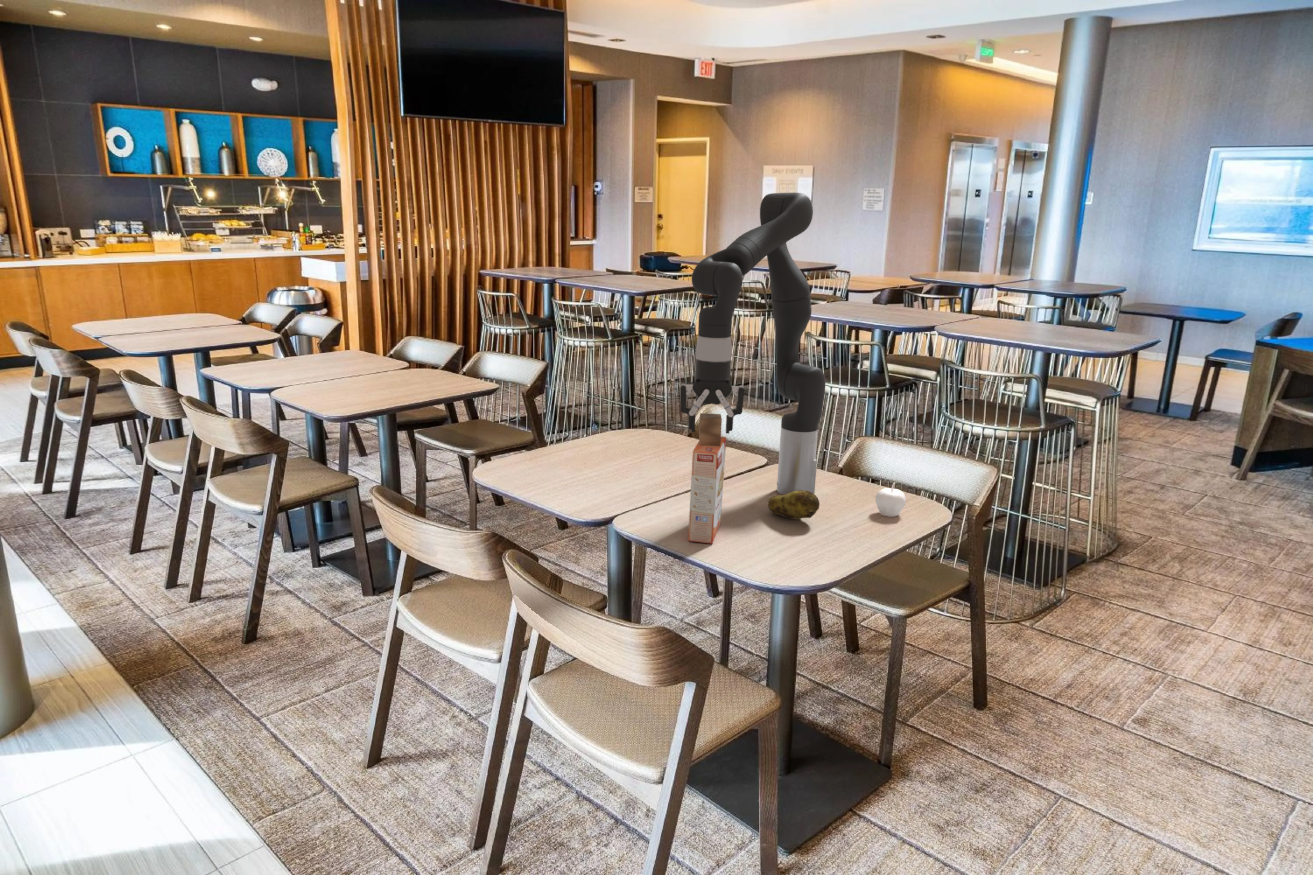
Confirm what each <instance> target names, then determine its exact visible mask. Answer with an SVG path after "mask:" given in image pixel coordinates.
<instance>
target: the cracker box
mask: <svg viewBox="0 0 1313 875" xmlns="http://www.w3.org/2000/svg"><path fill="white" fill-rule="evenodd" d="M726 446H727V437H725V436H721V444H720V446H705V445H699V441H698V442H697V444H696V445H695V447H694V448H693V450H692V457H691V458H692V459H691V461H692V462H691V478H690V480H691V481H690V483H691V484H690V499H689V512H688V513H689V516H688V532H687V539H688V540H687V541H688V542H693V543H701V544H703V543H704V544H709V545H710V544H711V545H713V544H714V541H715V538H716V536H717V532H718V530H719V528H720V526H721V521H722V510H723V509H722V507H723V493H724V491H723V490H724V478H725V461H726V450H727V449H726Z"/></svg>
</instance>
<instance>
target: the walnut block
mask: <svg viewBox="0 0 1313 875" xmlns="http://www.w3.org/2000/svg"><path fill="white" fill-rule="evenodd" d="M722 423H723V418H722V414H721V413H699V429H698V430H699V431H698V442H699V445H705V446H720V444H721V437H722Z"/></svg>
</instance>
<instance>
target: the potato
mask: <svg viewBox="0 0 1313 875" xmlns="http://www.w3.org/2000/svg"><path fill="white" fill-rule="evenodd" d="M767 506H768V509H769V511H770V512H771V513H773V514H775V515H777V516H782V517H785V518H787V519H792V520H801V519H811V518H812V517H813V516H814V515H816V514H817V512H818V511H819V509H820V500H819V498H818V496H817V495H816V494H815V493H814V494H813V493H812V492H810V491H803V490H797V491H793V492H791V493H788V494H785V495H781V494H778V495H774V496H772V497H770V498H769V500H768V503H767Z"/></svg>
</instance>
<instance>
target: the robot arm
mask: <svg viewBox="0 0 1313 875" xmlns="http://www.w3.org/2000/svg"><path fill="white" fill-rule="evenodd" d="M759 206H760V208H759V220H760V225H759V226H757V227H753V228H752V229H750V230H747V231H745V232H744V233H742V234H741V235H740V236H738V237H737V238H736V239H735V240H733V241H732V242H731V243H730V244H729V245H728V246H727V247H725V248H723V249H722V250H719V251H717V252H715V253H712V254H711V255H708V256H706V257H705V258H703V259H702V260H701V261H699V262H698V263H697V264H696V265H695V267H694V268H693V271H692V274H691V285H692V287H693V288H694V290H695V291H696V292H697V293H699V294H701V295H704V296H714V297H717V300H716V302H715V305H714V306H706V307H703V308H701V309H700V311H699V313H698V327H697V328H698V329H697V331H698V332H697V341H696V350H695V372H694V382H693V383H692V384H686V383H681V384H680V386H679V387H680V391H679V392H680V394H679V395H680V412H681V413H682V414H686V415H688V425H687V426H688V430H690V431H691V433H696V412H697V411H698V410H699V408H700V407H701V405H710V404H712V405H716V406H717V405H720V404H721V405H722V407H723V409H724V410H725V413H726V414H725V416H726V417H725V434H730V432H732V431H733V429H734V417H735V416H738V415H741V414H742V413H743V408H744V406H743V405H744V398H745V388H744V385H742V384H740V385H732V384H731V370H732V369H731V368H732V356H733V353H732V351H733V350H732V349H733V348H732V347H733V346H732V328H733V327H732V326H733V316H734V313H735V309H736V305H737V302H738V299H739V296H740V293H741V290H742V287H743V281H744V280H743V278H744V277H743V276H745V275H747V274H748V273H749V272H750V271H751V270H752V269H753V268H755V267H756V266H757V265H758V264H759V263H760V262H761V261H763V259H764V258H765V257H767V258H766V260H767V264H768V272H769V280H770V281H769V284H770V292H771V294H770V295H771V304H772V305H771V306H772V307H771V308H772V314H773V315H772V316H773V320H774V330H775V345H776V346H775V347H776V386H777V390H778V393H779V394H780V396H782V397H783V398H785V399H788V400H790V401H791V400H792V401H795V402H798V404H797V409H796V411H794V412H788V413H785V414H783V416H782V417H781V422H780V437H779V452H778V465H777V466H778V467H777V481H776V492H777V493H778V495H785V494H788V493H791V492H793V491H797V490H803V491H810V492H812V493H813V494H815V491H816V478H817V466H818V460H817V458H816V457H817V447H818V445H817V443H818V431H819V424H820V422H821V419H822V414H823V408H824V406H823V405H824V399H825V393H826V377H825V372H824V371H823V370H822V369H821V368H819V367H817V366H813V365H806V364H802V363H801V360H800V349H799V348H800V341H801V339H802V336H803V335H804V333H805V330H806V328H807V326H808V324H809V322H810V320H811V317H812V299H811V289H810V288H811V287H810V284H809V282H808V280H807V278H806V277H805V275H804V273H803V272H802V270H801V269H800V268H799V266H798V265H797V263H796V262H795V260H794V259H793V257H792V255H791V253H790V250H789V248H788V245H787V243H788V242H789V241H790V240H792V239H794V238H795V237H797V236H799V235H802V234H803V233H804V232H805V231H806V230H807V229H808V228H809V227H810V225H811V224H812V220H813V216H814V208H813V207H814V206H813V203H812V200H811V198H810V197H809V196H808V195H807V194H805V193H801V192H775V193H774V192H773V193H768V194H765V195H764V197H763V198H762V200H761V203H760V205H759ZM692 390H693V393H694V394H695V395H696V398H695V399H694V401H693V402H692V404H691V406H690V407H689V406H687V396H688V395H690V392H691V391H692ZM732 392H733V394H734V396H735V397H736V404H735V407H733V408H732V407H731V406H730V403H729V401H728V400H727V397H728V396H729V395H730V393H732Z"/></svg>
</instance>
